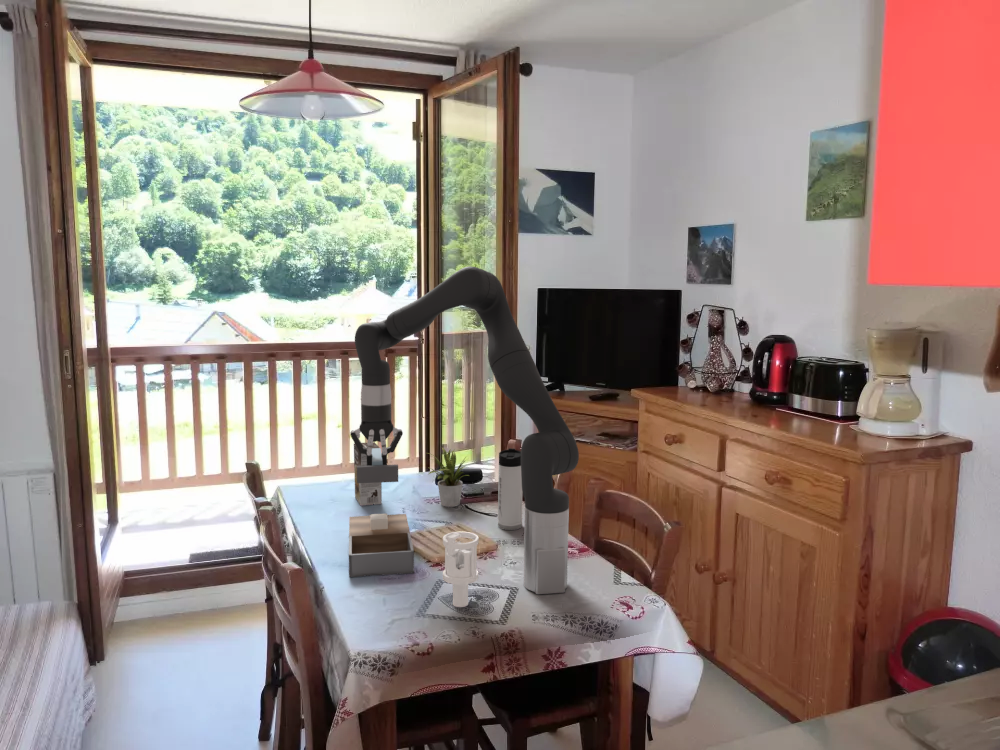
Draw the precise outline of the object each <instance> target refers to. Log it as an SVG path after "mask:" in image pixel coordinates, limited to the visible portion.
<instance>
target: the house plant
mask: <svg viewBox="0 0 1000 750" xmlns="http://www.w3.org/2000/svg"><path fill="white" fill-rule="evenodd" d="M441 448H442V449H441V450H442V452H443V458H444V462H445V465H444V464H443V463H442V462H441V461H440V460H439V459H438V458H436V456H435V455H434V454H431V452H430V453H429V452H427V454H429V455H430V457H431V458H434V459H435V463H436V464H437V465H438V466H439V467H440V469H438V470H435V469H433V468H431V467H429V469H430V470H432V471H430V472H428V475H431V474H432V473H434V474H436V475H438V476H437V480H439V481H437V486H438V487H437V488H438V493H439V499H440V505H441V506H443V507H445V508H452V507H453V508H454V507H457V506H460V503H461V495H462V490H463V485H464V483H463V481H462V480H461V479H462V478H464V477H466V476H468V477H470V475H469V474H465V473H464V471H462V470H463V469H464V468H465V466H463V464H464V463H465V462H466V461H467V459H466V458H467V457H468V454H467V455H466V456H465V457H464V458H463V460H462V461H461V463H460V464H459V466H458V467H457V469H456V464H457V455H456V453H455V449H456V448H454V449H453V450H452V448H449V450H448V452H447V451H446V450H445V448H444V447H441ZM434 459H430V461H434ZM465 459H466V460H465ZM467 468H469V467H468V466H467ZM441 472H442V473H443V474H442V473H441ZM462 474H465V475H462ZM461 475H462V476H461ZM440 479H441V480H440Z"/></svg>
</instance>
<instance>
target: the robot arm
mask: <svg viewBox="0 0 1000 750" xmlns="http://www.w3.org/2000/svg"><path fill="white" fill-rule="evenodd" d="M504 291H505V290H504V288H503V285H502V283H501V281H500V279H499V278H498V277H497V276H496V275H494V273H491V272H490V271H487V270H485V269H482V268H479V267H476V266H471V265H470V266H465V267H462V268H460V269H459V270H456V271H455V272H454V273H452V274H451V275H450V276H449V277H447V278H446V279H445V280H443V281H442V282H440V283H439V284H438V285H437V286H435V287H434V288H433V289H431V290H430V291H428V292H427V293H425V294H424V295H422V296H421V297H419V298H418V299H416V300H414V301H412V302H410V303H408V304H406V305H404V306H402V307H400V308H398V309H395V310H394V311H392V312H391V313H389V315H388V316H387V317H386V319H384V320H381V321H376V322H364V323H362V324H359V326H358V327H357V329H356V331H355V333H354V335H355V336H354V344H355V349H356V353H357V357H358V361H359V363H360V368H361V391H360V417H361V419H360V420H361V421H360V424H359V427H357V429H355V430H351V431H350V432H349V433H350V437H351V439H352V441H353V444H355V445H356V446H357V448H358V450H359V452H360V453H363V454H366V456H367V466H369V465H372V446H373V442H375V443H376V442H379V443H380V446H381V447H380V448H381V457H382V461H383V465H388V455H389V454H391V453H394V452H395V450H396V448H397V446H398V444H399V443H400V441H401V438H402V436H403V433H404V432H403V430H402V429H400V428H399V429H398V428H397V427H394V424H393V422H392V421H393V420H392V389H391V369H390V364H389V362H388V361H386V360H384V359H382V358H381V355H380V351H382V350H387V349H390V348H392V347H394V346H396V345H397V344H399V343H401V341H403V340H404V339H406V338H409V337H411V336H413V335H415V334H418V333H419V332H422V331H424V329H426V328H429V326H431V324H432V323H433V322H434V321H435V320H436V318H437V317H438V316H440V314H442V313H444V312H445V311H447V310H450V309H454V308H457V307H465V308H469V309H471V310H474V311H475V312H477V313H476V314H477V315H478V316H479V318H480V320H481V322H482V324H483V325H484V326H483V327H484V328H485V330H486V334H487V340H488V341H487V360H488V364H489V366H490V370H491V372H492V374H493V376H494V379H495V381H496V383H497V385H498V387H499V388H500V390H501V392H502V393H503V394H504V395H505V396H506V397H507V398H508V399H509V400H510V401H512V402H513V403H514V405H516V406H517V407H519V409H521V410H522V411H523V412H524V413H525V414H526V415H528V417H529V418H530V420H532V422H533V424H534V425H535V427H536V428H537V431H538V432H535V433H531V434H528V435H527V436H526V437H525V438H524V439H523V441H522V444H521V449H520V451H521V478H522V496H523V498H524V535H523V536H524V539H523V542H524V544H523V549H524V550H523V552H524V553H523V586H524V588H526V590H529V591H530V592H531V591H532V592H533V593H535V594H536V595H547V594H548V595H549V594H558V593H559V594H560V593H561V594H562V593H566V589H567V588H568V563H569V562H568V560H569V559H568V558H569V556H568V555H569V521H570V520H569V519H570V517H569V515H570V514H569V513H570V497H569V494H568V493H567V492H566V491H564V490H562V489H559V488H555V487H554V483H553V482H554V481H553V476H556V475H561V474H565V473H569V472H571V471H573V470H574V469H576V468H577V465H578V464H579V461H580V460H579V459H580V458H579V457H580V453H579V452H580V451H579V448H578V444H577V441H576V439H575V438H574V434H573V433H572V431H571V430H570V428H569V426H568V425H567V423H566V421H565V420H564V418H563V417H562V415H561V413H560V411H559V410H558V408H557V407H556V405H555V403H554V401H553V399H552V397H551V395H550V393H549V391H548V389H547V387H546V385H545V383H544V381H543V379H542V377H541V375H540V372H539V370H538V367H537V365H536V363H535V361H534V359H533V357H532V355H531V352H530V350H529V348H528V346H527V344H526V341H525V340H524V339H523V336H522V334H521V331H520V329H519V328H518V326H517V324H516V321H515V319H514V317H513V315H512V311H511V309H510V305H509V303H508V300H507V297H506V293H505V292H504ZM392 433H393V434H392ZM361 434H362V435H363V436H364V438H365V439H366V440H367V442H366V443H367V448H364V447H363V445H362V443H363V442H362V441H361V440H360V438H361ZM391 434H392V435H393V439H392V441H391V443H390V445H389V446H387V441H386V440H387V438H388V437H389V436H390V435H391Z"/></svg>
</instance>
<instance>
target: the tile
mask: <svg viewBox="0 0 1000 750" xmlns="http://www.w3.org/2000/svg"><path fill="white" fill-rule="evenodd" d="M387 515H388V513H372V514H369V516H370V526H371V530H378V529H388V517H387Z"/></svg>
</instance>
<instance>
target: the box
mask: <svg viewBox="0 0 1000 750" xmlns="http://www.w3.org/2000/svg"><path fill="white" fill-rule="evenodd" d="M407 540H408V551H396V552H379V553H362V554H352V536H348V578H361V577H373V576H391V575H392V576H393V575H407V574H414V573H415V550H414V546H413V545H414V544H413V541H412V536H411V532H410V533H407Z"/></svg>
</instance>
